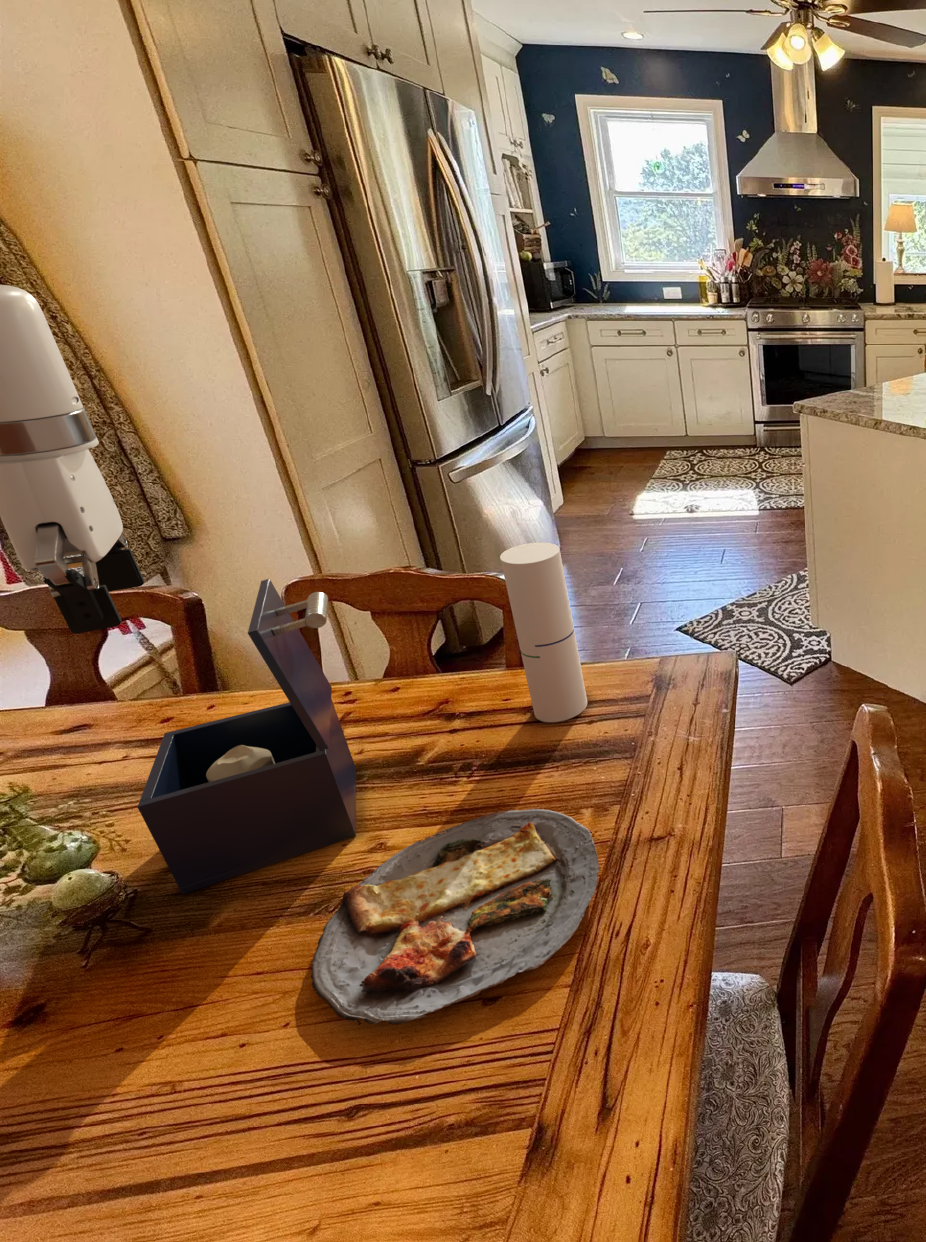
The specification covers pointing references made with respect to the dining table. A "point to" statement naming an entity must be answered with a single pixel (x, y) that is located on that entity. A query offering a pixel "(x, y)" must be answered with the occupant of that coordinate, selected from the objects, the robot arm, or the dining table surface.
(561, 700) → the cylindrical container
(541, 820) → the food plate
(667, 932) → the dining table surface
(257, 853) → the navy blue box
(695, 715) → the dining table surface
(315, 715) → the lid
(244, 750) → the candle
